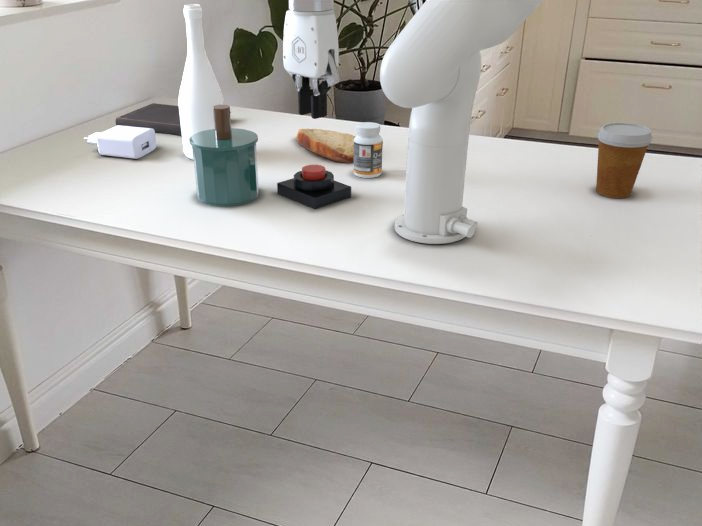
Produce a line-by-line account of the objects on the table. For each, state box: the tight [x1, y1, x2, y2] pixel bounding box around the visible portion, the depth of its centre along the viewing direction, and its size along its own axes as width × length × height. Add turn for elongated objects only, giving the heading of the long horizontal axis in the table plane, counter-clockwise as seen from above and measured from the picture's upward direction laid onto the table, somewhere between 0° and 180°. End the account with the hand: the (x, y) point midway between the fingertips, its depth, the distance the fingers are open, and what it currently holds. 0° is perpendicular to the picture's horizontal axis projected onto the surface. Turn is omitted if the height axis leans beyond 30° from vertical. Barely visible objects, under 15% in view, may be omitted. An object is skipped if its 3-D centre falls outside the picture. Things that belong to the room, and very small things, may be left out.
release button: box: [301, 164, 326, 180], centre depth 140 cm, size 4×4×2 cm
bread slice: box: [295, 128, 357, 164], centre depth 166 cm, size 18×18×4 cm
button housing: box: [276, 169, 352, 210], centre depth 141 cm, size 11×9×4 cm
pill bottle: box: [353, 121, 384, 179], centre depth 150 cm, size 6×6×10 cm
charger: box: [83, 125, 157, 160], centre depth 166 cm, size 5×9×15 cm
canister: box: [192, 142, 260, 208], centre depth 140 cm, size 11×11×10 cm
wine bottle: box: [177, 3, 225, 161], centre depth 156 cm, size 10×10×30 cm
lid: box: [189, 104, 259, 151], centre depth 135 cm, size 12×12×7 cm
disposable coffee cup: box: [595, 122, 654, 199], centre depth 139 cm, size 10×10×12 cm
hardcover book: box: [115, 102, 232, 136], centre depth 184 cm, size 16×23×2 cm
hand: (312, 114), depth 134 cm, fingers closed
